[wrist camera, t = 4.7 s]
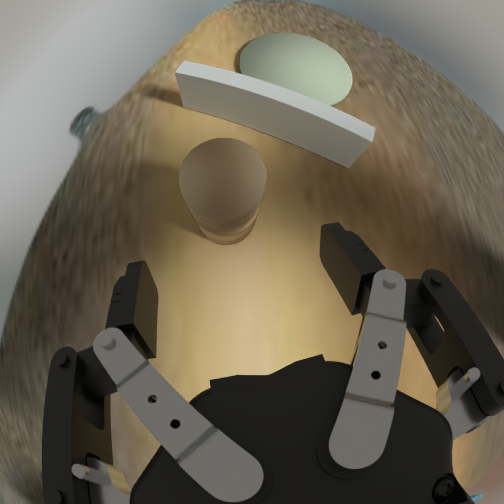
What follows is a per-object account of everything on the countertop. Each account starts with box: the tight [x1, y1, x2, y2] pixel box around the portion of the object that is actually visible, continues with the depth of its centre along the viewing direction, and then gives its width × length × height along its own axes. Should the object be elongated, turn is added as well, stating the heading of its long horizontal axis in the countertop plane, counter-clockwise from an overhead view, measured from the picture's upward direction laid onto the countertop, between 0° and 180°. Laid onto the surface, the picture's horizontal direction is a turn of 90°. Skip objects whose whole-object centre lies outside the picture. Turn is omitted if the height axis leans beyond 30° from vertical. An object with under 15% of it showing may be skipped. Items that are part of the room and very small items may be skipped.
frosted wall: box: [175, 61, 375, 169], centre depth 20 cm, size 16×2×5 cm, turn 68°
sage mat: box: [240, 33, 352, 106], centre depth 24 cm, size 12×12×1 cm
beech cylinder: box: [179, 138, 267, 245], centre depth 18 cm, size 4×4×8 cm
